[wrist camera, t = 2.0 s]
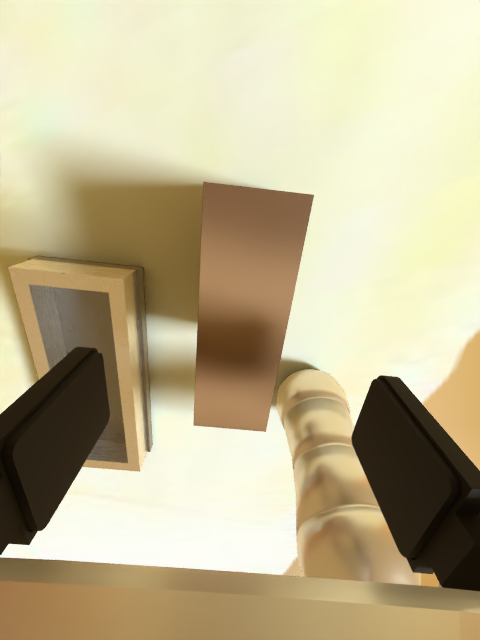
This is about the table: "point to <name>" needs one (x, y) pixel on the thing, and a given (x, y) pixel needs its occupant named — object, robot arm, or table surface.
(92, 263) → the tan rectangular tray
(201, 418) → the door panel
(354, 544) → the plastic bottle
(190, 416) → the table surface
